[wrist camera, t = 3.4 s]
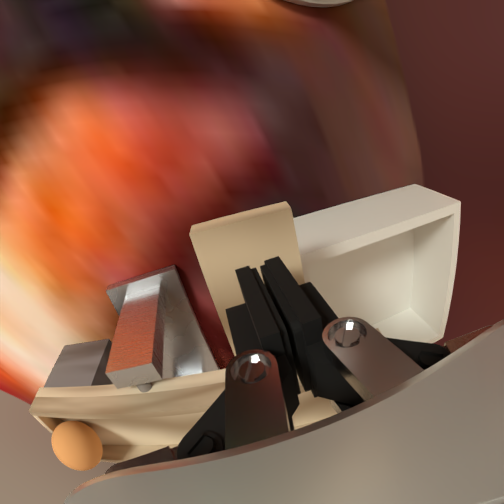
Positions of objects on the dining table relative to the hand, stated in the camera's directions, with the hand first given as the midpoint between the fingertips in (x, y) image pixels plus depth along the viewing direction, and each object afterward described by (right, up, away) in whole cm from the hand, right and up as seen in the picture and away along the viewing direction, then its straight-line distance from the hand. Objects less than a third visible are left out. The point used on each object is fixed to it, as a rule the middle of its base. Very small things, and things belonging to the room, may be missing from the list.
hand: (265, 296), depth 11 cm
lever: (-5, -3, +9) cm, 11 cm away
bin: (+9, -1, +16) cm, 18 cm away
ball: (-13, -12, +4) cm, 18 cm away
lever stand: (-8, -6, +14) cm, 17 cm away
